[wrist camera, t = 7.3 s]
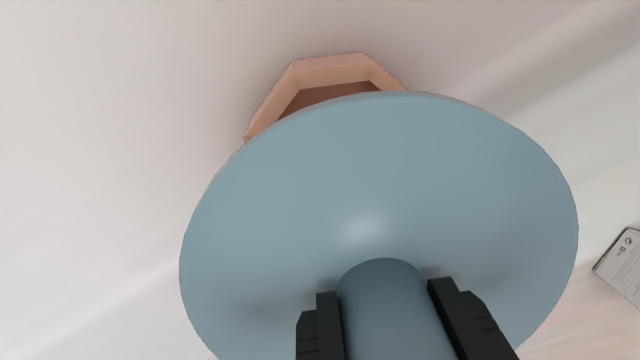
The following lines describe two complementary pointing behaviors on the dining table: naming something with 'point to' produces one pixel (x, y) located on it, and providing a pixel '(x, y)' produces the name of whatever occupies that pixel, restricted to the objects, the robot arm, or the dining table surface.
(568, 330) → the dining table surface
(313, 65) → the bowl
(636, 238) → the skincare box
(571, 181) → the dining table surface
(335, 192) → the lid
